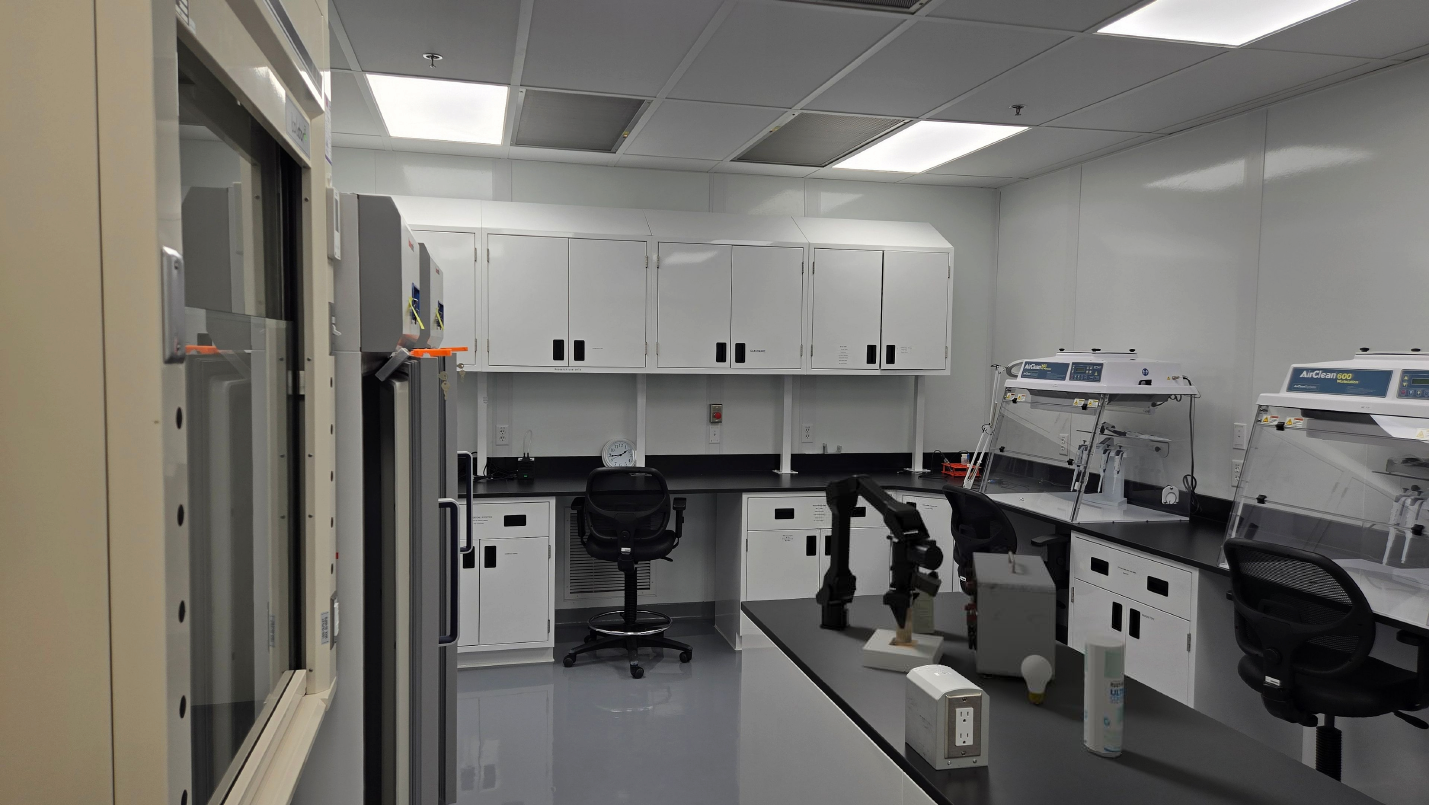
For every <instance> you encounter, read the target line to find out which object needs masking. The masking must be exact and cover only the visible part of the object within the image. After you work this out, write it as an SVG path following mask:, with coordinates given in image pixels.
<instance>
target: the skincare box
mask: <svg viewBox="0 0 1429 805" xmlns="http://www.w3.org/2000/svg"><path fill="white" fill-rule="evenodd" d="M914 592H916V593H920V595H919V597H918V598H916V599H915V600H914V604H913V605H912V633H916V634H935V620H934V619H935V611H934V610H935V609H934V605H935V604H934V597H932V596H929V595H928V594H927V593H925V592H923V591H920V590H918V589H917V588H916V591H914Z"/></svg>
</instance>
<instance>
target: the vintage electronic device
mask: <svg viewBox="0 0 1429 805" xmlns="http://www.w3.org/2000/svg"><path fill="white" fill-rule="evenodd" d="M964 578H965V579H972V581H965V582H964V587H965V588H966V595H967V596H969V597H970V602H969V603H967V604H965V605H964V610H965V611H966V626H967V627H966V628H967V630H966V631H967V637H968V638H967V639H968V644H967V645H968V650H971V651H972V650H974V652H973V653H974V661H975V662H974V663H975V672H976V673H978V674H981V676H982V675H983V676H985V677H992V676H993V677H994V675H996V676H997V675H998V676H1007V677H1009V676H1010V677H1020V678H1024V677H1023V675H1022V672H1021V666H1022V663H1023V661H1024V660H1025V658H1027V657H1028V656H1031V655H1039V656H1042V657H1043V658H1045V659H1046V660H1047V661H1048V662H1049V664H1050V665H1051V668H1052V676H1051V678H1050V680H1052V681H1055V680H1056V633H1057V632H1056V630H1057V629H1056V626H1057V625H1056V624H1057V622H1056V618H1057V588H1056V584H1055V582H1054V580H1053V579H1052V576H1051V574H1050V572H1049V570H1048V568H1047V566H1046V564H1045V563H1044V560H1043V559H1042V557H1041V555H1031V554H1030V555H1025V554H1013V552H1012V551H1010V550H1009V551H1008V553H1006V554H1005V553H990V552H989V553H988V552H972V568H971V567H970V568H969V567H967V568H964ZM983 676H982V677H983ZM985 677H984V678H985ZM993 677H992V678H993ZM1050 680H1049V681H1048V682H1049V683H1050Z"/></svg>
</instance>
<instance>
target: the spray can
mask: <svg viewBox="0 0 1429 805" xmlns="http://www.w3.org/2000/svg"><path fill="white" fill-rule="evenodd" d="M1125 647H1126V645H1125V642H1124V641H1123V640H1121V639H1119V638H1117V637H1112V636H1109V635H1099V634H1098V635H1097V634H1094V635H1088V636H1085V638H1084V684H1083V685H1084V690H1083V692H1084V693H1083V695H1084V700H1083V701H1084V704H1083V707H1084V708H1083V710H1084V711H1083V712H1084V713H1083V714H1084V715H1083V717H1084V718H1083V726H1084V727H1083V745H1084V744H1085V745H1086V746H1087V747H1089V748H1090V749H1092V750H1094V751H1099V752H1101V753H1119V752H1120V751H1122V752H1123V736H1124V735H1123V733H1124V732H1123V730H1124V729H1123V728H1124V726H1123V725H1124V690H1125V689H1124V688H1125V687H1124V686H1125V685H1124V684H1125V655H1126V654H1125V649H1126V648H1125Z"/></svg>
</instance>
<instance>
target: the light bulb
mask: <svg viewBox="0 0 1429 805" xmlns="http://www.w3.org/2000/svg"><path fill="white" fill-rule="evenodd" d="M1021 672H1022V675H1023V677H1022V678H1024V680H1025V682H1026V685H1027V689H1028V696H1029V698H1028V699H1029V701H1030V702H1032V703H1033V702H1034V703H1039V704H1040V703H1042V702H1043V701H1044V692H1045V689H1046V686H1047V684H1048V683H1047V682H1048V681H1049V682H1050V678H1051V676H1052V668H1051V665H1050V664H1049V662H1048V661H1047V660H1046V659H1045V658H1043V657H1042V656H1039V655H1031V656H1028V657H1027V658H1025V660H1024V661H1023V663H1022V666H1021ZM1034 703H1033V704H1034Z"/></svg>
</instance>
